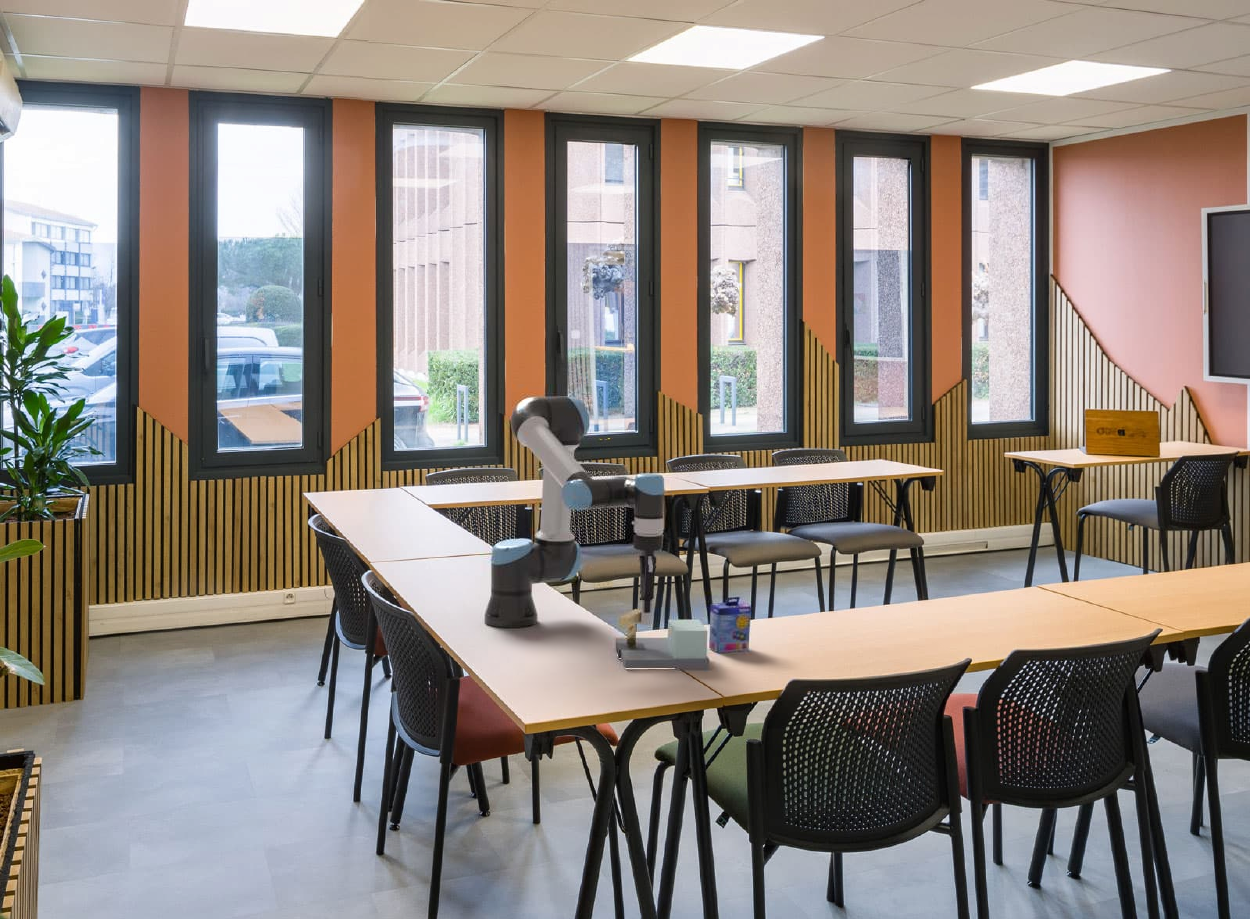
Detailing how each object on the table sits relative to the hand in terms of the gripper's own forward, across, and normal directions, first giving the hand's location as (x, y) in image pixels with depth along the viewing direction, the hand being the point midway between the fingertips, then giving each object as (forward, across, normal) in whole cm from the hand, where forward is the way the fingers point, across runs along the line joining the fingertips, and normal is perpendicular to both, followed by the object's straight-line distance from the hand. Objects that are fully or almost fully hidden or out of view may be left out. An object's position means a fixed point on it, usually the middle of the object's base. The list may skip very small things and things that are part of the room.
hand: (646, 624), depth 302 cm
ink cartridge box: (+8, -4, +23) cm, 25 cm away
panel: (+8, +4, +4) cm, 9 cm away
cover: (+5, +8, +10) cm, 13 cm away
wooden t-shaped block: (+5, +2, -4) cm, 7 cm away
